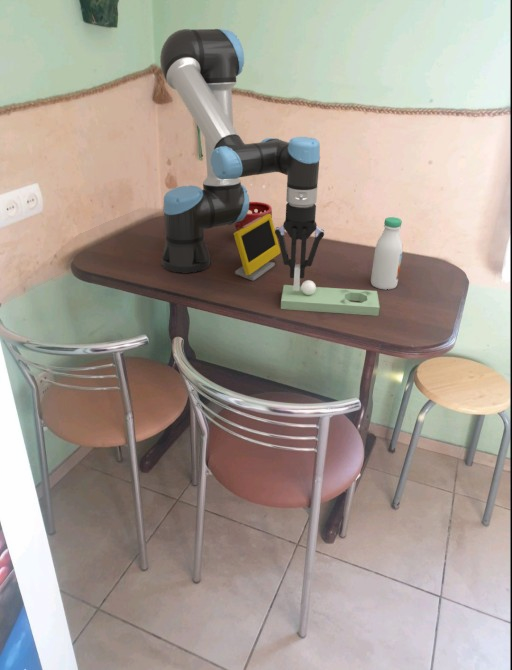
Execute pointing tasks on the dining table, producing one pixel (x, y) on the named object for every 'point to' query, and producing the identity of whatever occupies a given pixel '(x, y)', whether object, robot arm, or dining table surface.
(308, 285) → the ball
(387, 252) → the milk bottle
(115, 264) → the dining table surface
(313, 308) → the putting strip
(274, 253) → the yellow framed monitor
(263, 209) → the plant pot
